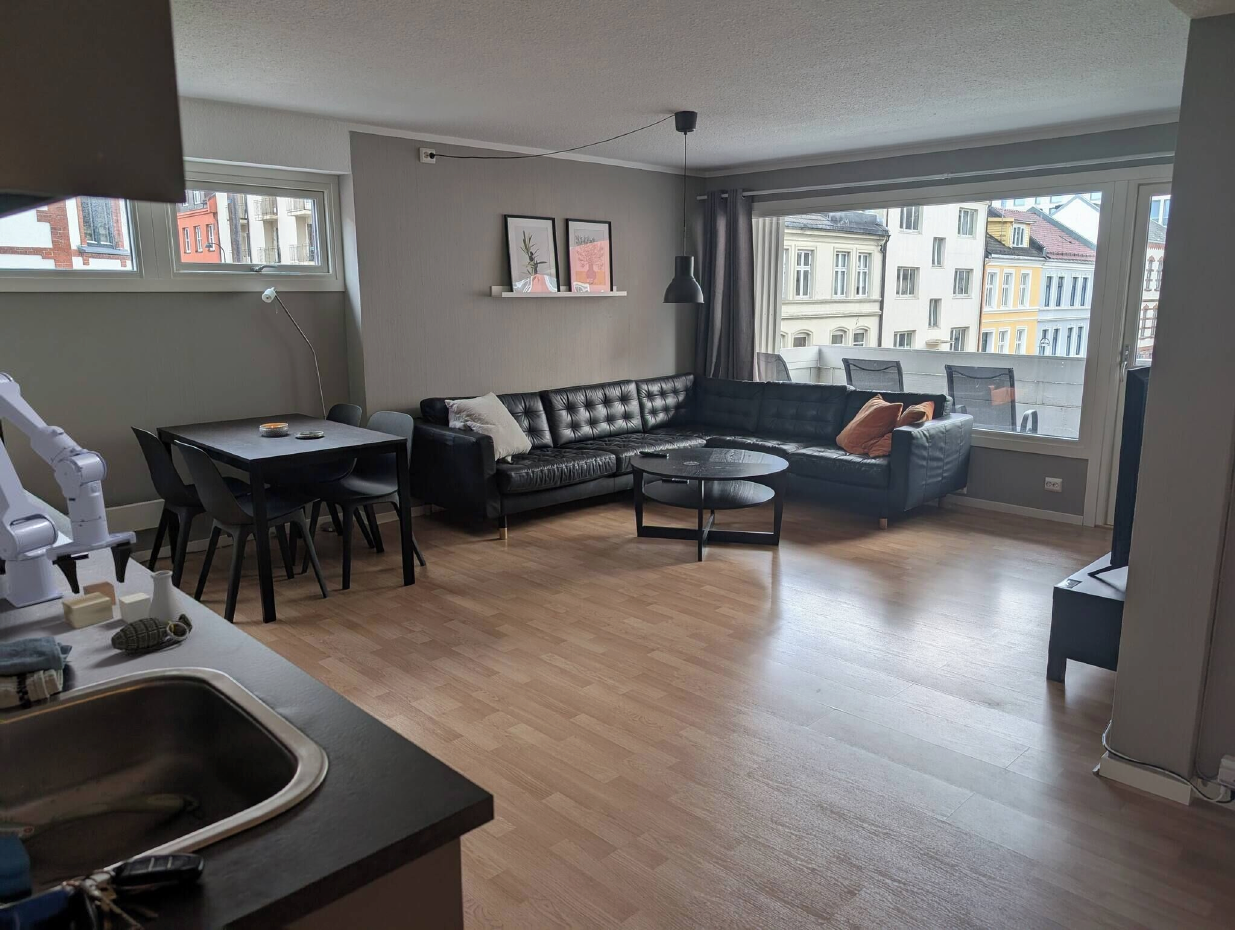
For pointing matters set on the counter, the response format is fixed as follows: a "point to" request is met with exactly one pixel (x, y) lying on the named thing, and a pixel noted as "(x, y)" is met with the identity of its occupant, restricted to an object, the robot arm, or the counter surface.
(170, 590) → the flask
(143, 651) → the grenade
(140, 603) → the cream cube
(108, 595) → the brown cube
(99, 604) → the beech block
